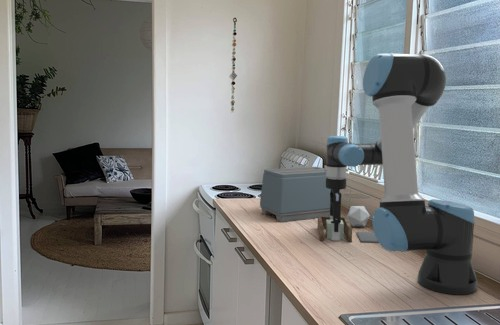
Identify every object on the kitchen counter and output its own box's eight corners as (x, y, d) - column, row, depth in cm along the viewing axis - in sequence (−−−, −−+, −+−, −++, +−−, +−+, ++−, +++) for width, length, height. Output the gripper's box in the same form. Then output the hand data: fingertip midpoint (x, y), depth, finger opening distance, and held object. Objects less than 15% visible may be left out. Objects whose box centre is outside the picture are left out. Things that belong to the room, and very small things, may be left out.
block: (343, 239, 172) (343, 223, 172) (326, 239, 173) (327, 223, 172) (341, 235, 178) (342, 220, 177) (325, 234, 179) (326, 219, 178)
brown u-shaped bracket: (351, 242, 169) (352, 228, 168) (320, 241, 170) (320, 227, 169) (346, 229, 187) (346, 216, 186) (317, 228, 188) (317, 216, 187)
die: (364, 231, 186) (376, 210, 188) (344, 219, 187) (356, 198, 189) (359, 233, 194) (370, 213, 197) (340, 222, 195) (351, 202, 198)
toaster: (346, 215, 211) (348, 170, 208) (279, 223, 196) (280, 175, 193) (322, 207, 228) (323, 165, 225) (259, 213, 213) (259, 169, 210)
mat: (394, 243, 168) (395, 241, 168) (361, 242, 169) (361, 240, 169) (388, 234, 180) (388, 232, 179) (356, 233, 181) (356, 231, 181)
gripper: (350, 182, 161) (347, 245, 164) (343, 173, 184) (341, 228, 186) (328, 182, 162) (326, 244, 165) (323, 173, 184) (322, 228, 187)
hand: (334, 236), depth 176 cm, fingers open, 10 cm apart
